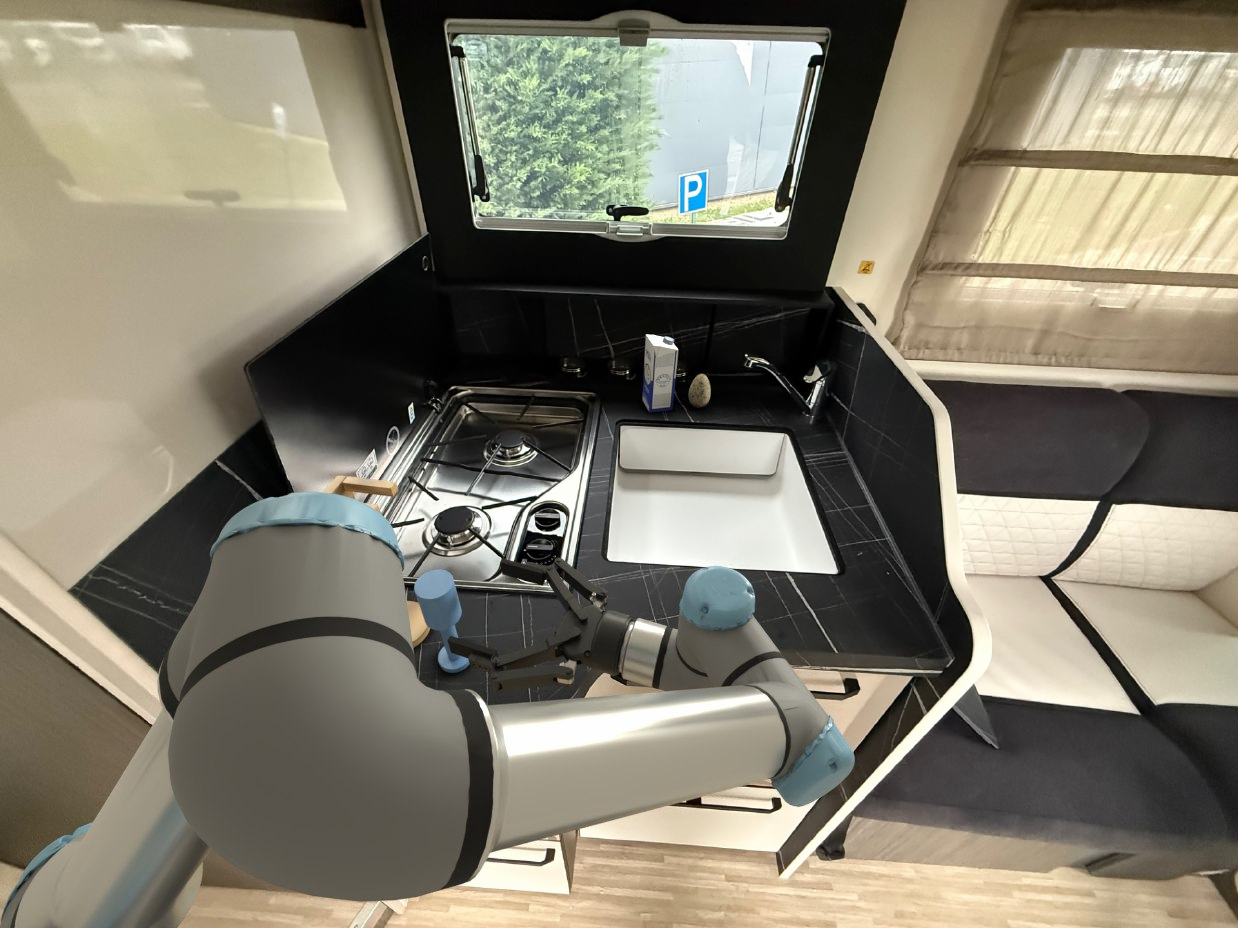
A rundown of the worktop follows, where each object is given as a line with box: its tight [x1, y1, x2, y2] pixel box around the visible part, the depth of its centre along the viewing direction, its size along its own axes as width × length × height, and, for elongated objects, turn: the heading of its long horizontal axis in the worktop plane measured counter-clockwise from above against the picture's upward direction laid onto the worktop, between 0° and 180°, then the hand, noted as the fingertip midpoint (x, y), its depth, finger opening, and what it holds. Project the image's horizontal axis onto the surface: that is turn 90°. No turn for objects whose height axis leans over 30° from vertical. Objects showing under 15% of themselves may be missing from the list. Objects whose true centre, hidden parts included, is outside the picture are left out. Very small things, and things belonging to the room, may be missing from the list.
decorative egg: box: [688, 373, 712, 409], centre depth 142 cm, size 6×6×10 cm
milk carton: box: [641, 334, 679, 414], centre depth 139 cm, size 7×7×20 cm
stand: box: [321, 474, 431, 649], centre depth 77 cm, size 10×9×30 cm
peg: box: [413, 568, 470, 674], centre depth 77 cm, size 5×5×18 cm
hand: (478, 602), depth 71 cm, fingers open, 13 cm apart
